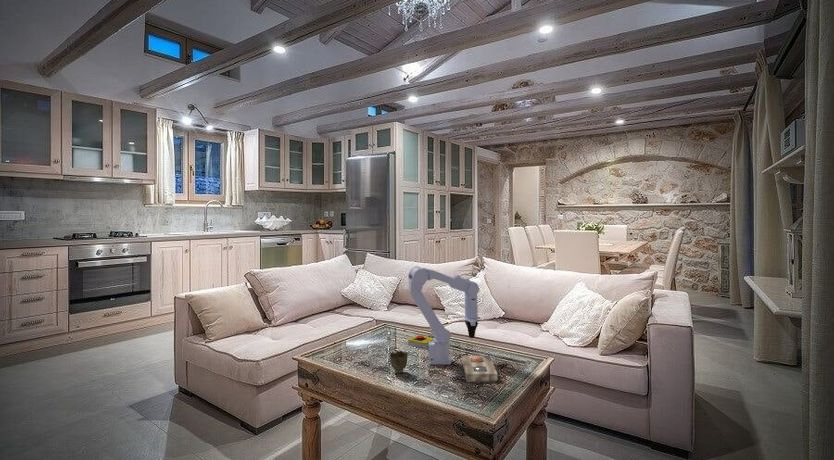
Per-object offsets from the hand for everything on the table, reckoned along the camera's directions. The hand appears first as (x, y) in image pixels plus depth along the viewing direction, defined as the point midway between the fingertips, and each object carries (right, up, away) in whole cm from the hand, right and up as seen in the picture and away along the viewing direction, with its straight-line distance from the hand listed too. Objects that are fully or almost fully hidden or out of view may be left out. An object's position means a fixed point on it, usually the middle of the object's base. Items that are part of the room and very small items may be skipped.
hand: (471, 337), depth 180 cm
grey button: (+1, -10, -21) cm, 23 cm away
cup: (-32, -11, -15) cm, 37 cm away
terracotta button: (+1, -9, -11) cm, 14 cm away
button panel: (+1, -10, -16) cm, 19 cm away
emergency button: (-22, -10, +21) cm, 32 cm away
